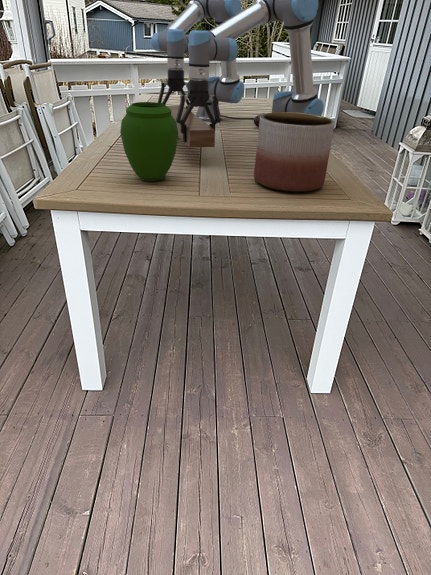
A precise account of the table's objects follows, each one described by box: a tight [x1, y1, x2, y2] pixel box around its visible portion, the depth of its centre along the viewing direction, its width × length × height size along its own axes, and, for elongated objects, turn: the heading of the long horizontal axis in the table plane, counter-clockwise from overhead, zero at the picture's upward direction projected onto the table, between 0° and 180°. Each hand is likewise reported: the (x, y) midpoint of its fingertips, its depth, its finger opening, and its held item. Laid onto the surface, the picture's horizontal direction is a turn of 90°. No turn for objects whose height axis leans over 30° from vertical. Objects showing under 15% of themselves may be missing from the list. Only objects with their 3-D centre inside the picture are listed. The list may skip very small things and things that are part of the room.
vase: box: [119, 101, 179, 182], centre depth 140 cm, size 20×20×24 cm
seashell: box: [252, 112, 266, 128], centre depth 231 cm, size 10×6×8 cm, turn 97°
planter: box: [253, 111, 336, 193], centre depth 143 cm, size 25×25×22 cm
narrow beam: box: [166, 105, 216, 149], centre depth 179 cm, size 57×10×6 cm, turn 16°
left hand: (176, 121), depth 198 cm, fingers closed on narrow beam, 10 cm apart
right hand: (197, 141), depth 163 cm, fingers closed on narrow beam, 10 cm apart
